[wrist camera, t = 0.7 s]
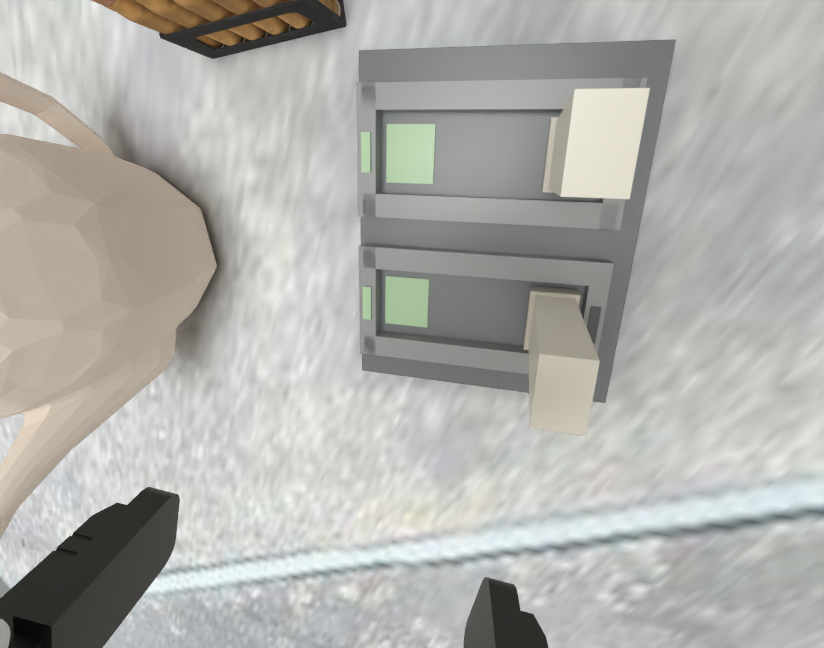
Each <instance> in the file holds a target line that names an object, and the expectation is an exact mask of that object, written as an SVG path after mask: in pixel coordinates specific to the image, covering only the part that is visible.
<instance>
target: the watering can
mask: <svg viewBox="0 0 824 648" xmlns="http://www.w3.org/2000/svg"><path fill="white" fill-rule="evenodd" d="M0 101H1V102H4V103H6V104H9V105H11V106H14V107H16V108H19V109H22V110H24V111H27V112H29V113H32V114H34V115H36V116H37V117H38V118H40V119H41V120H43V121H44V122H45V123H47V124H48V125H50V126H51V127H52V128H54V129H55V130H56V131H58V132H59V133H61V134H62V135H63V136H65V137H66V138H68V139H69V140H70V141H72V142H73V143H75V144H76V145H77V146H79V147H80V148H81V149H79V148H74V147H69V146H64V145H59V144H54V143H49V142H44V141H39V140H34V139H29V138H24V137H19V136H14V135H9V134H0V419H1V418H5V417H8V416H12V415H15V414H22V415H25V419H24V424H23V425H22V427H21V429H20V431H19V433H18V435H17V437H16V438H15V440H14V442H13V444H12V446H11V448H10V449H9V451H8V453H7V455H6V457H5V459H4V461H3V462H2V464H1V466H0V538H1V537H2V535H3V533H4V531H5V530H6V528H7V526H8V525H9V523H10V521H11V519H12V518H13V516H14V514H15V513H16V511H17V509H18V508H19V506H20V505H21V504H22V502H23V501H24V500H25V499H26V498H27V497H28V496H29V495H30V494H31V493H32V492H33V491H34V489H35V488H36V487H37V486H38V485H39V484H40V483H41V482H42V481H43V480H44V479H45V478H46V476H47V475H48V474H49V473H50V472H51V471H52V470H53V469H54V468H55V467H56V466H57V465H58V463H59V462H60V461H61V460H62V459H63V458H64V457H65V456H66V455H67V454H68V453H69V452H70V451H71V450H72V449H73V448H74V447H75V446H76V445H78V444H79V443H80V442H81V441H82V440H83V439H85V438H86V437H87V436H88V435H89V434H90V433H92V432H93V431H94V430H95V429H96V428H97V427H99V426H100V425H101V424H102V423H103V422H105V421H106V420H107V419H108V418H109V417H110V416H112V415H113V414H114V413H115V412H116V411H117V410H119V409H120V408H121V407H122V406H123V405H124V404H126V403H127V402H128V401H129V400H130V399H131V398H133V397H134V396H135V395H136V394H137V393H139V392H140V391H141V390H142V389H143V388H144V387H146V386H147V385H148V384H149V383H150V382H151V381H153V380H154V379H155V378H156V377H157V376H158V375H160V374H161V373H162V372H163V371H164V370H165V369H166V368H167V366H168V365H169V363H170V361H171V360H172V358H173V356H174V353H175V342H176V331H177V326H178V325H179V324H180V323H182V322H183V321H184V320H185V319H186V318H187V317H188V316H189V315H190V314H191V313H192V311H193V310H194V309H195V308H196V307H197V305H198V303H199V301H200V299H201V297H202V295H203V293H204V291H205V290H206V288H207V286H208V284H209V282H210V280H211V278H212V276H213V274H214V272H215V270H216V267H217V265H216V261H215V257H214V253H213V250H212V246H211V242H210V239H209V235H208V232H207V228H206V225H205V221H204V218H203V215H202V211H201V209H200V208H199V207H198V206H197V205H196V204H195V203H193V202H192V201H191V200H189V199H188V198H187V197H185V196H184V195H183V194H182V193H180V192H179V191H178V190H177V189H175V188H174V187H173V186H172V185H170V184H169V183H168V182H166V181H165V180H164V179H163V178H161V177H160V176H159V175H158V174H157V173H155V172H152V171H150V170H148V169H146V168H144V167H141V166H139V165H136V164H133V163H131V162H128V161H125V160H123V159H120V158H117V157H116V156H115V155H114V153H113V152H112V151H111V150H110V148H109V147H108V146H107V145H106V143H105V142H104V141H103V139H102V138H101V137H100V136H99V135H98V134H97V133H96V132H94V131H93V130H92V129H91V128H89V127H88V126H87V125H86V124H85V123H83V122H82V121H81V120H80V119H79V118H77V117H76V116H75V115H74V114H72V113H71V112H70V111H69V110H68V109H66V108H65V107H64V106H63V105H62V104H60V103H59V102H58V101H57V100H55V99H54V98H53V97H51V96H49V95H47V94H45V93H43V92H41V91H39V90H37V89H34V88H32V87H30V86H28V85H26V84H24V83H22V82H20V81H18V80H15V79H13V78H11V77H9V76H7V75H5V74H3V73H1V72H0Z"/></svg>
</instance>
